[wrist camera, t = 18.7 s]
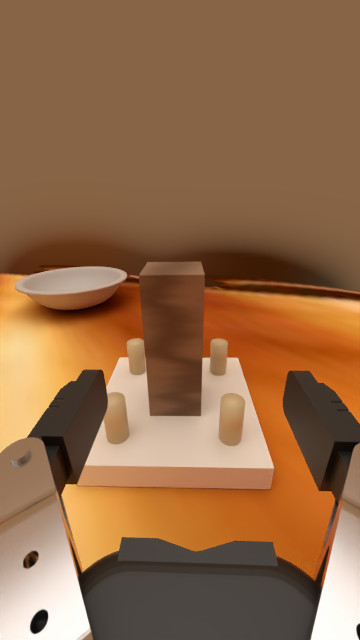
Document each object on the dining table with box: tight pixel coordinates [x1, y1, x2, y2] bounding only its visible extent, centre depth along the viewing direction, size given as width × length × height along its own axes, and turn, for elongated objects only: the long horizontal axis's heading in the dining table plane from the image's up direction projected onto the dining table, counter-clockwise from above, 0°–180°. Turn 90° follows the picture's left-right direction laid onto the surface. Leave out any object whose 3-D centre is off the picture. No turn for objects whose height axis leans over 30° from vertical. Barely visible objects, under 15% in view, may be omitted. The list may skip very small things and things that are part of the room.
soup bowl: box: [15, 267, 127, 310], centre depth 61 cm, size 24×24×7 cm
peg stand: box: [77, 338, 274, 489], centre depth 27 cm, size 16×16×6 cm
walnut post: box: [139, 262, 205, 416], centre depth 25 cm, size 5×5×14 cm
